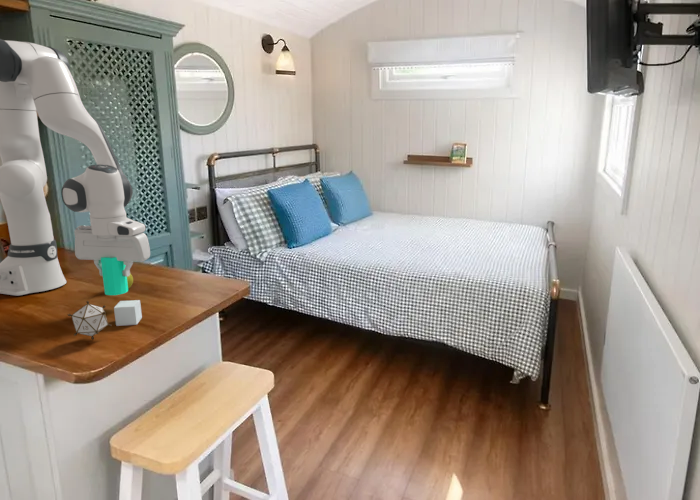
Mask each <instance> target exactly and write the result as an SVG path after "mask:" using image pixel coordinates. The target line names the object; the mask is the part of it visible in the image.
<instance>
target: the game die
mask: <svg viewBox="0 0 700 500" xmlns="http://www.w3.org/2000/svg"><path fill="white" fill-rule="evenodd" d="M105 308H106V305H102V306H99V305H94V304H91V303H90V301H89V300H86V304H85V305H83V306H82V307H81V308H80V309H78V310H76V311H75V312H73V313H72V314H71V313H68V314H67V316H68V317H71V320H72V324H73V326H74V330H75V333H74V334H73V337H75V336H77V335H84V336H88V337H91V339H92V340H94V339H95V337H94V336H95V335H99V333H100V331H102V330H104V329H105V328H106V327H108V326H109V327H112V325H113V324H111V323H109V322H108V318H107V315H106V314H107V312H106V311H105Z"/></svg>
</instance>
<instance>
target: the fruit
mask: <svg viewBox="0 0 700 500" xmlns="http://www.w3.org/2000/svg"><path fill="white" fill-rule="evenodd" d="M127 283H128V290H129V289H131V287H132V286H133V283H134V277H133V275H132V274H131V272H130V276H128V277H127Z"/></svg>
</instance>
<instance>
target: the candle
mask: <svg viewBox="0 0 700 500" xmlns="http://www.w3.org/2000/svg"><path fill="white" fill-rule="evenodd" d="M125 266H126V265H124V261H118V260H117V257H113V258H107V257H104V258H102V257H101V267H102V275H103V276H102V281H103V283H102V284H103V289H104V295H106V296H118V295H119V296H120V295H124V294H126V293H128V292H129V289H128V283H127V277H123V276H122V270H124V269H125Z"/></svg>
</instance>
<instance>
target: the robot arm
mask: <svg viewBox="0 0 700 500" xmlns="http://www.w3.org/2000/svg"><path fill="white" fill-rule="evenodd" d="M38 118H39V119H40V121H41V122H42V124H43V125H44V126H45V127H47V128H48V129H49V130H50V131H53V132H55V133H57V134H59V135H63V136H65V137H69V138H72V139H74V140H76V141H78V142H80V143H81V144H83V145H85V147H86V148H88V150H90V152H91V154H92V157H93V159H94V161H95V164H91V165H88V166H87V167H86V168H85V171H84V172H83V173H81V174H79V175H77V176H74V177H72V178H71V177H70V178H68V179H66V181H64V183H63V184H62V187H61V190H60V191H61V199H62V203H63V204H64V205H65V206H66V208H67V209H69V210H70V211H72V212H74V213H89V222H90V225H78V226H77V227H76V228H75V229H74V232H73V233H74V238H75V239H74V255H75V257H76V259H78V260H85V261H86V260H90V261H91V260H92V261H93V263H94V265H95V267H96V268H97V269H98V271H99V273H98V274H99V275H100V276H101V277H103V275H102V267H101V257H102V258H104V257H107V258H113V257H117V260H118V261H124V265H126V266H125V269H124V270H122V276H123V277H128V276H130V273H131V268H132V266H133V264H134V262H136V263H138V262H139V263H143V262H145V261H147V260H149V258H150V257H151V248H150V243H149V238H148V236H147V234H146V233H144V232H145V231H146V225H145V224H144V223H142V222H139V221H137V220H133V219H131V218H129V217H127V211H126V210H125V208H126V207H127V206H128V205H129V203H130V201H131V199H132V196H133V194H134V193H133V192H134V191H133V187H132V184H131V183H130V181H129V179H128V178H127V176H126V175H125V173H124V171H123V169H122V168H121V165H120V164H119V161H118V159H117V156H116V155H115V152H114V150H113V147H112V146H111V143H110V141H109V140H108V139H109V138H108V136H107V135H106V133H105V131H104V128H103V127H102V126H101V123H99V121H97V120H96V119H95V118H93V117H92V115H91V114H90V113H89V111H88V110H87V109H86V108H85V105H84V103H83V102H82V99H81V95H80V93H79V90H78V87H77V84H76V82H75V80H74V78H73V76H72V73H71V67H70V63H69V60H68V58H67V56H66V54H65V53H64V52H62V51H61V50H59V49H57V48H55V47H52V46H44V45H42V44H38V43H34V42H31V41H30V42H29V41H20V40H19V41H17V40H8V39H7V40H4V39H2V38H0V161H1V165H0V203H1V205H2V209H3V211H4V214H5V218H6V222H7V226H8V227H7V228H8V233H9V238H10V244H9V245H6V246H4V247H3V248H4V250H3V251H4V252H5V251H8V252H7V256H6V257H5V258H4V259H3V260H2V261H0V294H3V295H8V296H9V295H10V296H15V297H16V296H18V297H19V296H23V295H28V294H33V293H39V292H45V291H46V292H47V291H49V290H54V289H57V288H60V287H62V286H64V285H65V284H67V282H68V281H67V280H66V277H65V275H64V274H63V271H62V268H61V266H60V262H59V259H58V258H59V257H58V246H57V241H56V239H55V238H54V230H53V224H52V220H51V219H52V218H51V214H50V211H49V208H48V204H47V201H46V197H45V191H44V187H45V186H46V185H47V182H48V176H47V175H48V174H47V168H46V163H45V158H44V157H45V156H44V151H43V148H42V143H41V137H40V128H39V121H38Z"/></svg>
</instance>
